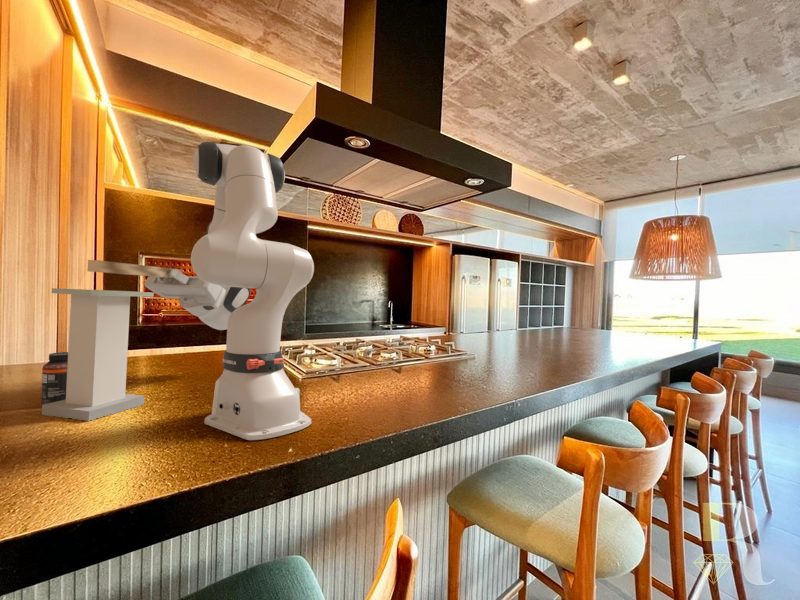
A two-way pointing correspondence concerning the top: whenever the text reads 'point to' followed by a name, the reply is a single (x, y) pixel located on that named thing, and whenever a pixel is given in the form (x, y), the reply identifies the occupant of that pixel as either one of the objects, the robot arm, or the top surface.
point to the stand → (96, 355)
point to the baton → (127, 269)
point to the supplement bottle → (54, 378)
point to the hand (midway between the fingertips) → (163, 270)
